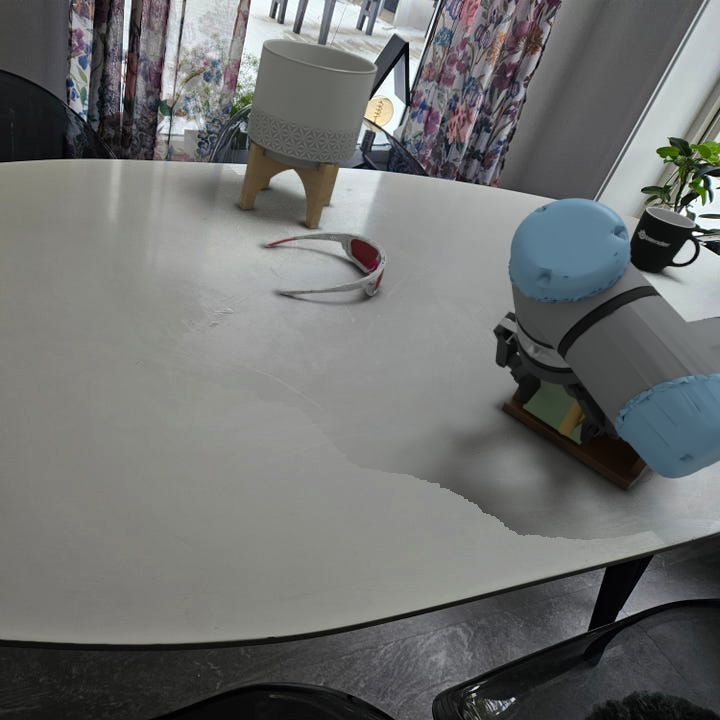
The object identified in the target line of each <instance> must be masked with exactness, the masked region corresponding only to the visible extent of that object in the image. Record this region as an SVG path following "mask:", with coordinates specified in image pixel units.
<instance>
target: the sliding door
mask: <svg viewBox="0 0 720 720" xmlns="http://www.w3.org/2000/svg"><path fill="white" fill-rule="evenodd" d="M523 408H524V409H526V410H527V411H529V412H530V413H532V414H533V415H535V416H536V417H538V418H539V419H541V420H543V421H544V422H546V423H547V424H549V425H550V426H552V427H553V428H555V429H556V430H558V431H559V432H560V433H561V434H562V435H565V436H567V437H569V438H570V439H572V440H573V441H575V442H577V443H578V444H581V443H582V441H580V435H581V428H582V422H583V421H584V420H585V419H586V417H585V415H584V413H583V411H582V409H581V408H580V406H579V404H578V402H577V401H576V399H575V398H573V397H571V396H569V395H568V394H567V393H566V391H565V389H564V387H563V386H562V385H558V384H552V383H548V382H545V381H543V380H541V387H540V389H539V390H538V391H537V392H536V393H535V394H534V396H533V397H532V398H531V399H530V400H529V402H528V403H527V404H524V406H523Z"/></svg>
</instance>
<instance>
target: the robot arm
mask: <svg viewBox="0 0 720 720" xmlns="http://www.w3.org/2000/svg"><path fill="white" fill-rule="evenodd" d="M630 246H631V245H630V235H629V232H628V228H627V226H626V224H625V222H624V220H623V219H622V217H621V216H620V215H619V214H618V213H617V212H616V211H615V210H614V209H612V208H611V207H610V206H607V205H605V204H604V203H601V202H599V201H596V200H592V199H587V198H578V197H573V198H571V197H570V198H563V199H557V200H554V201H551V202H548V203H547V204H544V205H542V206H540V207H537V208H536V209H535V210H533V211H532V212H530V213H529V214H528V215H527V216H525V218H524V219H523V220H522V221H521V222H520V224H519V225H518V226H517V228H516V229H515V231H514V234H513V236H512V240H511V243H510V257H509V260H508V265H507V269H508V276H509V282H510V284H511V292H512V300H513V307H514V312H512V311H508V312H507V313H506V315H505V316H503V318H502V319H501V320H500V321H499V323H498V324H497V325H496V326H495V327H494V329H493V330H492V332H493V334H494V336H495V338H496V341H497V342H496V351H495V360H494V361H495V364H496V365H497V366H498V367H499V368H502V369H504V368H505V369H506V367H508V369H510V371H509V374H510V375H511V377H512V378H513V380H514V382H515V384H517V385H518V386H519V393H520V401H521V402H523V403H524V404H527V403H528V402H529V400H530V399H531V398H532V397H533V396H534V394H535V393H536V392H537V391H538V390H539V389H540V387H541V380H543V381H545V382H548V383H552V384H558V385H562V386H563V387H564V389H565V391H566V393H567V394H568V395H569V396H571V397H573V398H575V399H576V401H577V402H578V404H579V406H580V408H581V409H582V411H583V413H584V415H585V417H586V419H585V420H584V421H583V422H582V428H581V435H580V441H582V442H583V443H585V444H587V442H588V441H589V440H590V439H591V438H592V436H594V437H596V436H597V435H599V436H602V435H603V434H604V433H605V432H606V430H607V434H608V435H609V436H610V437H611V438H613V439H615V440H618V439H619V438H620V437H622V439H623V440H624V441H627V442H628V443H629V444H630V445H631V446H632V447H633V448H634V450H635V451H636V452H637V453H638V454H639V455H640V456H641V457H642V459H643V460H644V461H645V462H646V463H647V464H648V465H649V467H650V469H651V470H652V471H653V472H654V473H655V474H656V475H659V476H660V477H663V478H666V479H681V478H684V477H687V476H691V475H693V474H695V473H698V472H699V471H701V470H703V469H705V468H708V467H711V466H712V465H715V464H716V463H719V462H720V316H713V317H708V318H704V319H703V318H702V319H697V320H691V321H686V319H684V318H683V317H682V315H681V314H680V313H679V312H678V311H677V309H675V308H674V307H673V306H672V305H671V303H669V302H668V301H667V300H666V298H664V297H663V295H662V294H660V292H659V291H658V290H657V289H656V287H655V286H654V285H653V284H652V283H651V282H650V281H649V280H648V279H647V278H646V277H645V276H644V274H642V273H641V271H640V270H639V268H637V267H635V266H634V265H633V264H632V263H631V262H630V258H631V255H630V251H631V248H630Z"/></svg>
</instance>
